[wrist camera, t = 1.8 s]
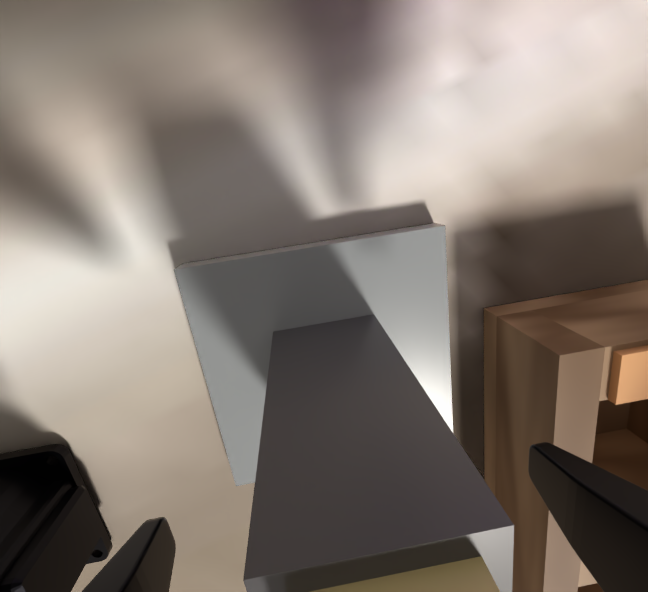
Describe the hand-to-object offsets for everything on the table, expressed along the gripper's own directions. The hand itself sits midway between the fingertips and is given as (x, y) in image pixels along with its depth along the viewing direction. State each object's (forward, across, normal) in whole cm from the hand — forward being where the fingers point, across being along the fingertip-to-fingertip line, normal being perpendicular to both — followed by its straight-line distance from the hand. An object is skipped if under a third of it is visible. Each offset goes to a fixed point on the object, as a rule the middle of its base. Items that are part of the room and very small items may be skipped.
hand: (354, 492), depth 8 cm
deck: (+7, 0, 0) cm, 7 cm away
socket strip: (+7, -11, +8) cm, 15 cm away
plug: (+6, 0, 0) cm, 6 cm away
